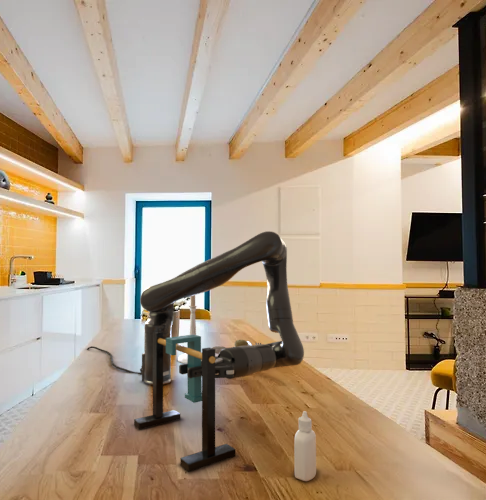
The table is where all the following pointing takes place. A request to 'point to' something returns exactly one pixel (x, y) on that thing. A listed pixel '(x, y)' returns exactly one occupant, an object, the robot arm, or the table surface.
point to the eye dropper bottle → (305, 449)
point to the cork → (241, 343)
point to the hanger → (195, 344)
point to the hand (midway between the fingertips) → (184, 371)
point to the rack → (209, 450)
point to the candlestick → (192, 327)
